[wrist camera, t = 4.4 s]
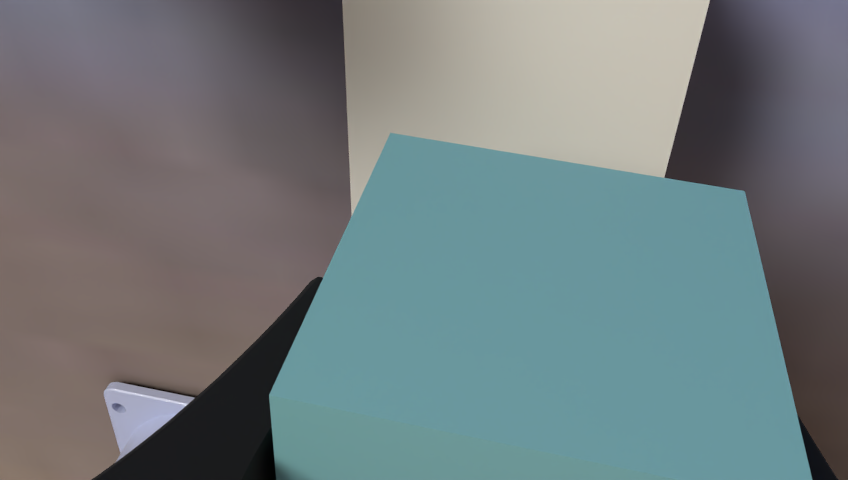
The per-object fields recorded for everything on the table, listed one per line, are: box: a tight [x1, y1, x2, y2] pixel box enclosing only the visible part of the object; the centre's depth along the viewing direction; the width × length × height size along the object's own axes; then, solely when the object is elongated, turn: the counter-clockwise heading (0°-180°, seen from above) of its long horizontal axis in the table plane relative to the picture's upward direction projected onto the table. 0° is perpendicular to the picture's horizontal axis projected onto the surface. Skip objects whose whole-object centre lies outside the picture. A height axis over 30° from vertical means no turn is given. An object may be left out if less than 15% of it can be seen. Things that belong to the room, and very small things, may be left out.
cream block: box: [342, 0, 710, 215], centre depth 16 cm, size 6×6×4 cm
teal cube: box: [269, 133, 812, 480], centre depth 10 cm, size 5×5×5 cm
